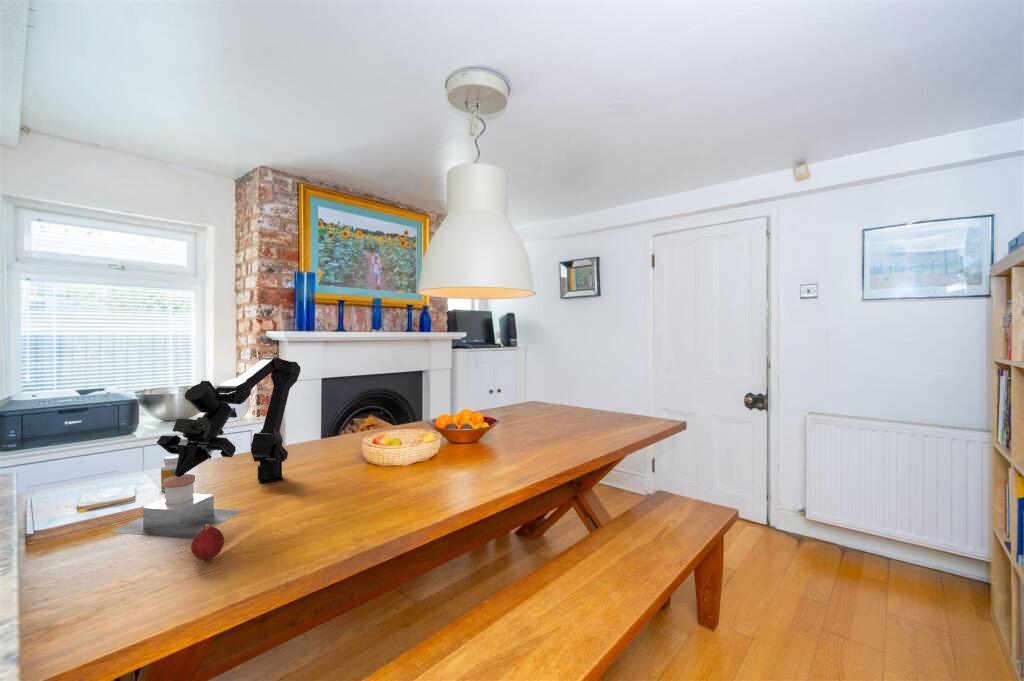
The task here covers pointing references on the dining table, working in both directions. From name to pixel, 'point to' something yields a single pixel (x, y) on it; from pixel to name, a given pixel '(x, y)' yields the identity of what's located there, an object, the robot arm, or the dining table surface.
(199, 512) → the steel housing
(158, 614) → the dining table surface
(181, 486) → the terracotta plug
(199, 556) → the onion
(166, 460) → the supplement bottle
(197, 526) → the slate board
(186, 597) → the dining table surface
